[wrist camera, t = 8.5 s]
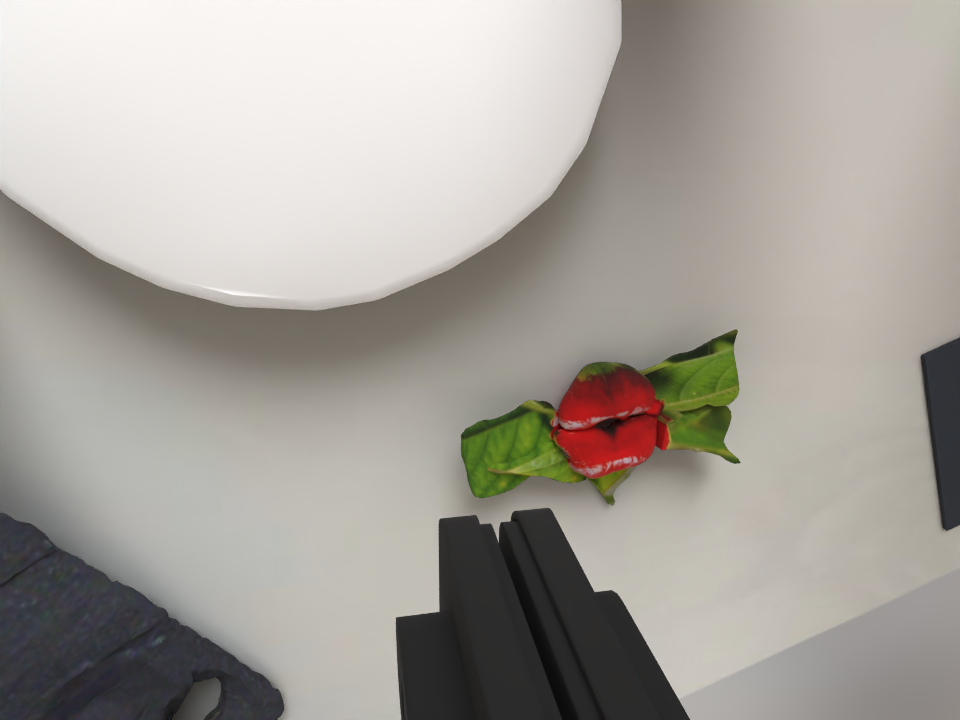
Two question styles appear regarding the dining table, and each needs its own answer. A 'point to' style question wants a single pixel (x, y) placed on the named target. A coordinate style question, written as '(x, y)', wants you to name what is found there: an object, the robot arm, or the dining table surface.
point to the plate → (295, 134)
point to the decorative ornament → (620, 446)
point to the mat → (945, 424)
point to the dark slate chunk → (102, 645)
